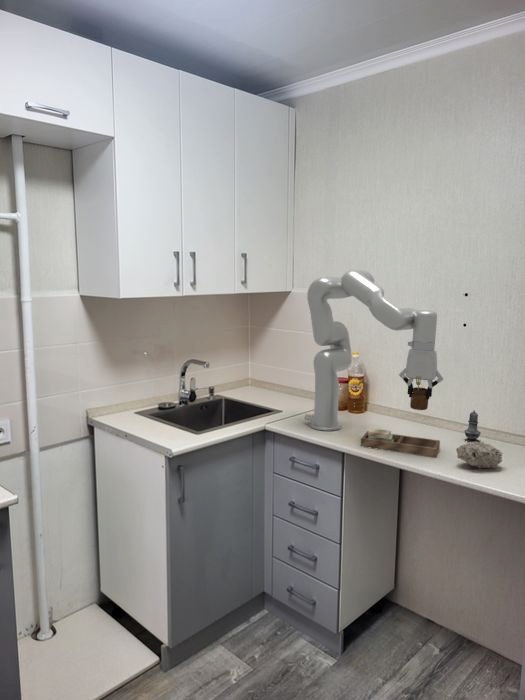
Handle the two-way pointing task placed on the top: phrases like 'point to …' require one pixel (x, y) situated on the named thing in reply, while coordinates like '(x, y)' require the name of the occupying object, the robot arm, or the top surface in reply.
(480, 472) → the top surface
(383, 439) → the offcut stack
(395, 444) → the wooden divided tray
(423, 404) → the utensil holder
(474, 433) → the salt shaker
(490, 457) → the pumice stone
